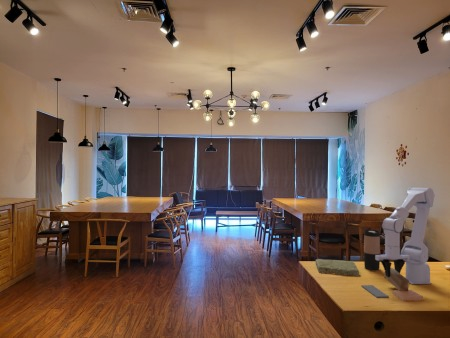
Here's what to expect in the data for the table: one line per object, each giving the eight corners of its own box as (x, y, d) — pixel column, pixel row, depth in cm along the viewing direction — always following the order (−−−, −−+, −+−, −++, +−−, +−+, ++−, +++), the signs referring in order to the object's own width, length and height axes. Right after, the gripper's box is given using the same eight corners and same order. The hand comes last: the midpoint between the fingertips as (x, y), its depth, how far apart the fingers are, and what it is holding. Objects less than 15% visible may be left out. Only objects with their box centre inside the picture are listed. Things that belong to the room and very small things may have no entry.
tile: (411, 289, 136) (422, 296, 129) (411, 294, 136) (422, 301, 129) (393, 290, 135) (403, 296, 128) (393, 295, 135) (403, 301, 128)
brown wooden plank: (391, 277, 146) (392, 268, 146) (408, 290, 134) (409, 280, 134) (384, 277, 146) (385, 268, 145) (400, 291, 134) (400, 280, 134)
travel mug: (367, 265, 176) (367, 229, 176) (382, 269, 170) (382, 230, 170) (361, 268, 171) (361, 230, 171) (376, 272, 165) (376, 232, 165)
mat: (372, 286, 144) (372, 285, 144) (388, 297, 131) (388, 296, 131) (361, 286, 144) (361, 285, 144) (376, 297, 131) (376, 296, 131)
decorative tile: (315, 264, 181) (315, 257, 181) (353, 266, 177) (353, 259, 177) (317, 274, 162) (317, 267, 162) (360, 277, 158) (360, 270, 158)
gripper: (402, 243, 147) (402, 273, 147) (371, 243, 147) (371, 273, 146) (412, 247, 140) (412, 278, 140) (380, 247, 139) (380, 278, 139)
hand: (392, 276), depth 143 cm, fingers closed on brown wooden plank, 3 cm apart
